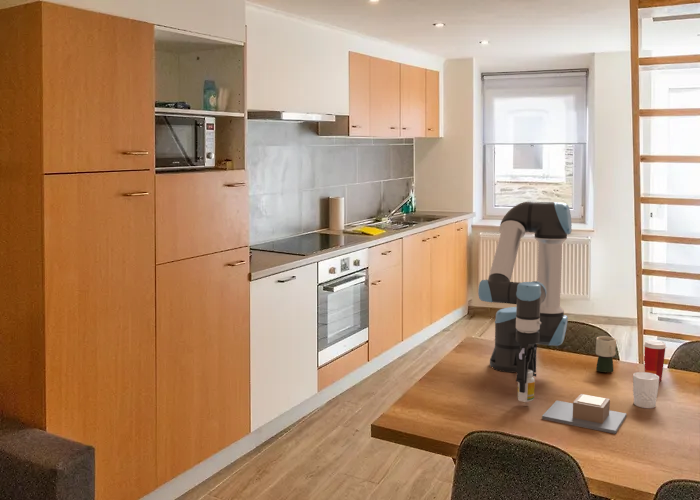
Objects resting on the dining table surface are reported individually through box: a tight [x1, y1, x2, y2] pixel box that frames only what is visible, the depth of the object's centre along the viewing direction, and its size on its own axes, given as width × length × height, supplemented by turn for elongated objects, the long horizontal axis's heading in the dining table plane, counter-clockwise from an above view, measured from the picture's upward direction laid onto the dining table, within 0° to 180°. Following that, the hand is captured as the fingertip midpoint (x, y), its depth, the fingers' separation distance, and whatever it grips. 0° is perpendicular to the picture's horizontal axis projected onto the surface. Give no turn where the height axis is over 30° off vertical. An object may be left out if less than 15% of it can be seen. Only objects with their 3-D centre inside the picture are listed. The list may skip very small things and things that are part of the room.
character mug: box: [595, 335, 617, 374], centre depth 258 cm, size 11×7×13 cm, turn 6°
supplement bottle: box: [517, 370, 536, 403], centre depth 224 cm, size 5×5×10 cm
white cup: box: [632, 371, 660, 409], centre depth 224 cm, size 8×8×10 cm
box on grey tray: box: [541, 393, 627, 434], centre depth 214 cm, size 22×16×6 cm
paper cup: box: [643, 339, 667, 382], centre depth 249 cm, size 8×8×14 cm
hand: (525, 397), depth 224 cm, fingers closed on supplement bottle, 5 cm apart
